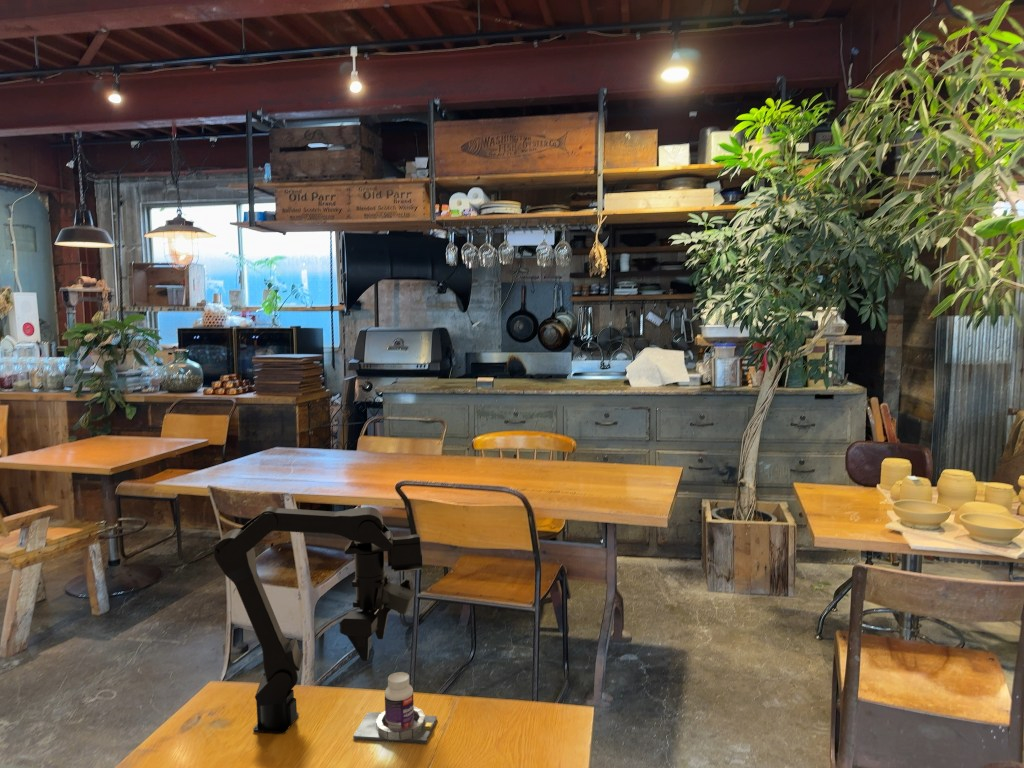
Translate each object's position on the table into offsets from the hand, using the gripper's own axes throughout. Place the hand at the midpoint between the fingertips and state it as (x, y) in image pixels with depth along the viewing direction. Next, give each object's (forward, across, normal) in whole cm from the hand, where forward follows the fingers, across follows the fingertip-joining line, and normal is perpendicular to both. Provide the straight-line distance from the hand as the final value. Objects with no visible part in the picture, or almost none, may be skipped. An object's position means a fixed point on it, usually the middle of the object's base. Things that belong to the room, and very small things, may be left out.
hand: (373, 649), depth 135 cm
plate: (+13, -6, -6) cm, 15 cm away
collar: (+12, -6, -8) cm, 15 cm away
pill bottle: (+12, -6, -7) cm, 15 cm away
